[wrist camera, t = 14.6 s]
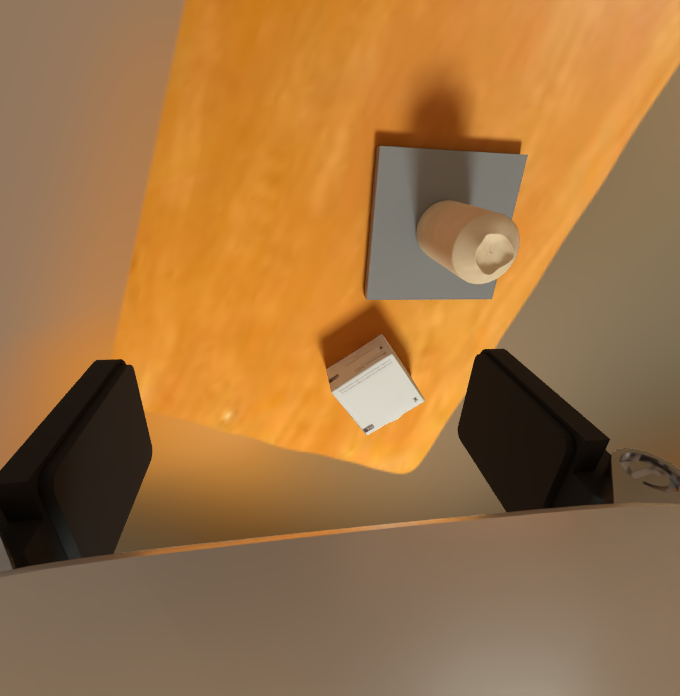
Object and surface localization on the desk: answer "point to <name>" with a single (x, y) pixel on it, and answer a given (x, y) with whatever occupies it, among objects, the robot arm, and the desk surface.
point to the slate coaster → (414, 199)
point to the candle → (468, 240)
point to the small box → (373, 385)
